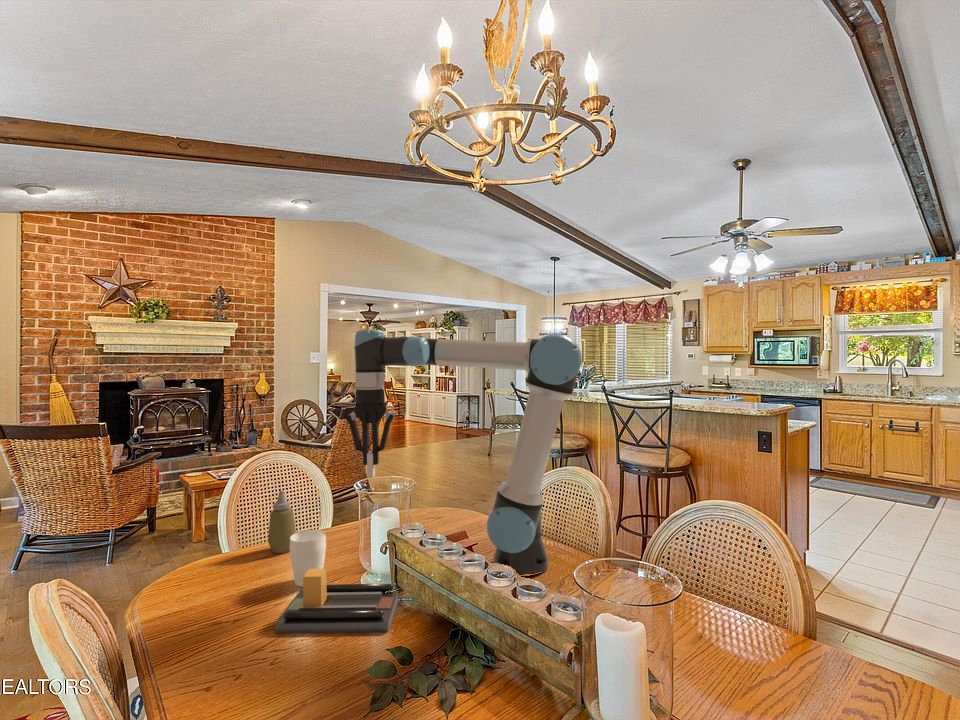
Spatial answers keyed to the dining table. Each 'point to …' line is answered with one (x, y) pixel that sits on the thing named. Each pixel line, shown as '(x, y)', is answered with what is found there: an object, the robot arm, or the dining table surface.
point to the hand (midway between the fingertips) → (371, 476)
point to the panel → (342, 610)
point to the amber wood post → (314, 587)
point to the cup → (307, 552)
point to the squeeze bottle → (281, 525)
